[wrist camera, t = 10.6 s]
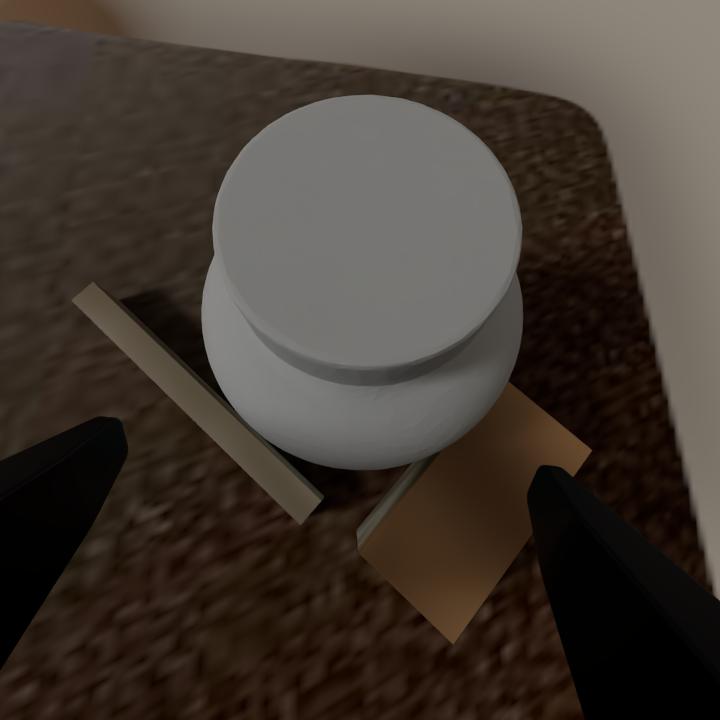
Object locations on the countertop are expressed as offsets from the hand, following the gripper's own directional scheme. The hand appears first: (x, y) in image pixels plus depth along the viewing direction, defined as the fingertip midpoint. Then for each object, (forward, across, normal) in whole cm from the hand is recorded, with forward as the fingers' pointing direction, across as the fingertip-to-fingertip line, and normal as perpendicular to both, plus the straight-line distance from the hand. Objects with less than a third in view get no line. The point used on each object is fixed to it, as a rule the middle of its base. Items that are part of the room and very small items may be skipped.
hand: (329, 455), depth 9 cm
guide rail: (+8, +6, +6) cm, 12 cm away
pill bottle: (+10, 0, +5) cm, 11 cm away
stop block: (+6, -5, +8) cm, 11 cm away
